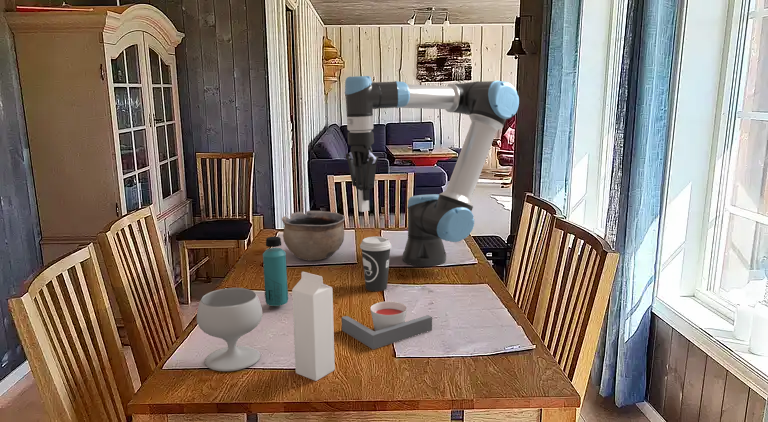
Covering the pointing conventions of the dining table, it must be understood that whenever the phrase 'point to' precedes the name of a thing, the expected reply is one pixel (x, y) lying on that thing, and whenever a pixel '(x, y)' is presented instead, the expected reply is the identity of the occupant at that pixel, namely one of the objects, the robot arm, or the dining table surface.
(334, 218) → the ceramic bowl
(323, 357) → the milk
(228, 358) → the chalice
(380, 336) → the corner fence
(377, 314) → the candle
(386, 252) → the coffee cup
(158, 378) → the dining table surface
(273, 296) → the beverage bottle
